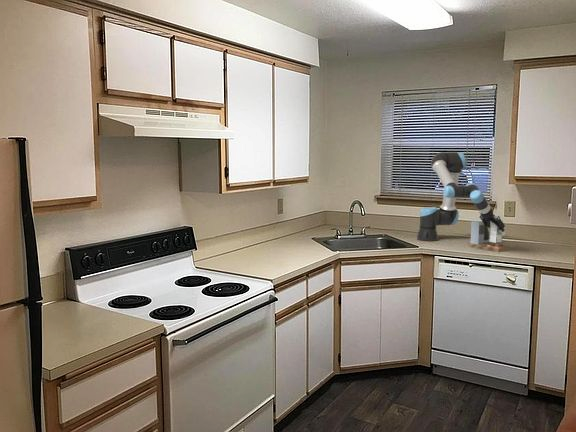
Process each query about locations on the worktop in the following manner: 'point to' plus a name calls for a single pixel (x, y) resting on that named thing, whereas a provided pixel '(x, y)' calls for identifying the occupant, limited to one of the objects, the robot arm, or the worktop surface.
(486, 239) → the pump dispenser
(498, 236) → the syrup box
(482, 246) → the rail
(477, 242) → the blue-grey tall block
